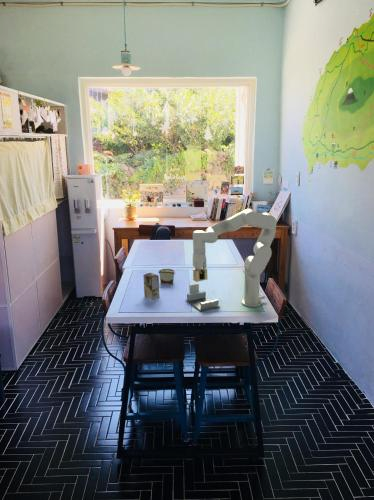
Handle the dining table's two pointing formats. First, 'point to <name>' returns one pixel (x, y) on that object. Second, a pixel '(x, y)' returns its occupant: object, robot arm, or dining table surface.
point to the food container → (166, 276)
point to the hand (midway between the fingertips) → (200, 277)
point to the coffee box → (151, 286)
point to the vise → (204, 304)
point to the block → (198, 275)
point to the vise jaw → (195, 292)
